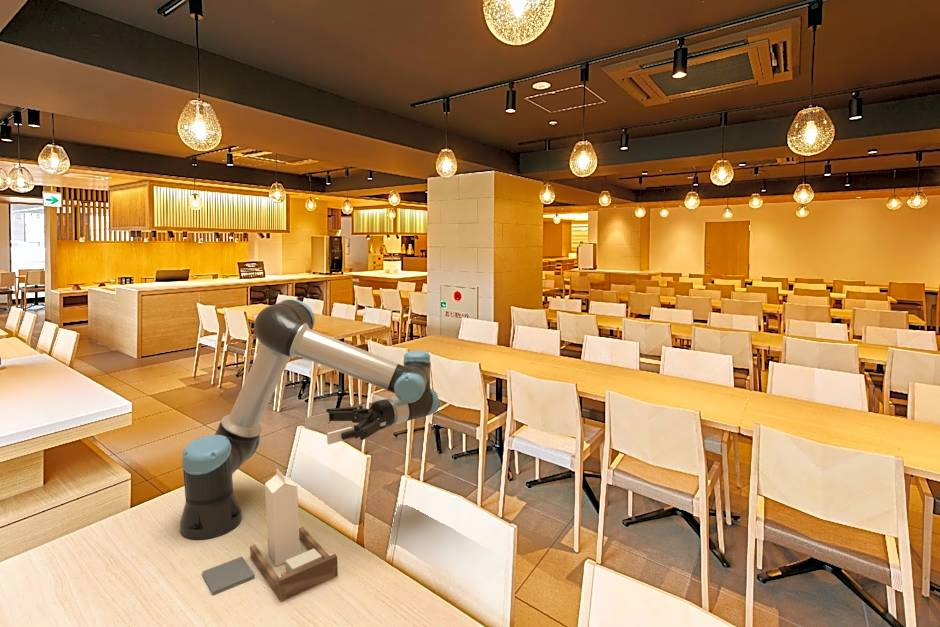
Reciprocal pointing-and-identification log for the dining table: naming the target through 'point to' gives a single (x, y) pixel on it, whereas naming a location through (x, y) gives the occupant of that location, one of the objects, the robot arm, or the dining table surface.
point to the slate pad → (227, 575)
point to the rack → (301, 577)
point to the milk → (282, 518)
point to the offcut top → (302, 560)
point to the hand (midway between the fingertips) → (315, 430)
